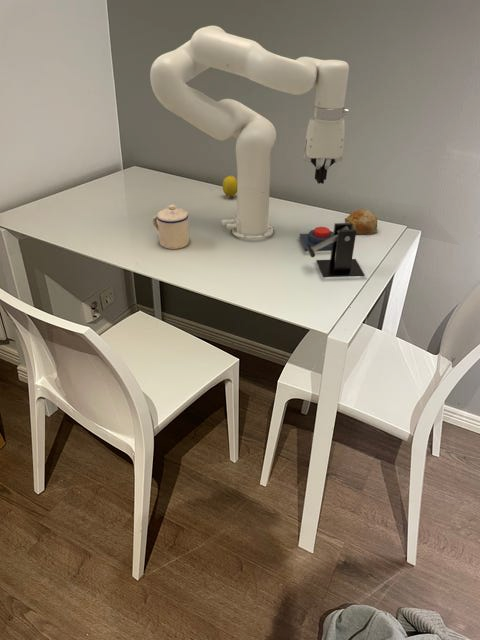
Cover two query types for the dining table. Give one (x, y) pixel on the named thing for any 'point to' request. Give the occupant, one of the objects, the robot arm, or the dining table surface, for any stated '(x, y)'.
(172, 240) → the teacup with lid
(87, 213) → the dining table surface
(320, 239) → the button housing
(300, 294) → the dining table surface
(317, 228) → the button
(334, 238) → the lever
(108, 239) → the dining table surface
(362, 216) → the bread roll
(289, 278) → the dining table surface
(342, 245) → the lever bracket
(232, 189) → the lemon
